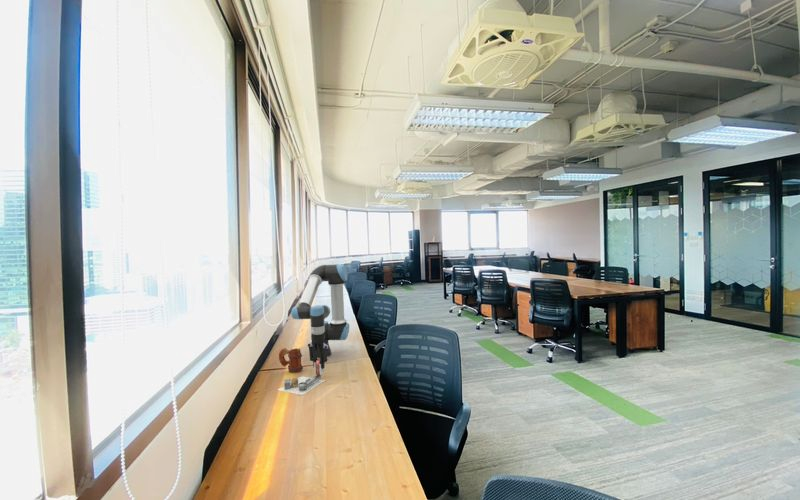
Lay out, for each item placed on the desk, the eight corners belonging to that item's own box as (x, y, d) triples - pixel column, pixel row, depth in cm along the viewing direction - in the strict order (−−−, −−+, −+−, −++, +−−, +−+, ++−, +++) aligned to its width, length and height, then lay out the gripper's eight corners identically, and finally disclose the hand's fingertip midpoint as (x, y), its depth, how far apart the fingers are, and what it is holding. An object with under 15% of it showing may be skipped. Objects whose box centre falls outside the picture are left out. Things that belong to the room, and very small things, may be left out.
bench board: (301, 378, 191) (301, 375, 191) (325, 382, 184) (325, 379, 184) (277, 392, 173) (277, 388, 173) (302, 397, 167) (302, 393, 167)
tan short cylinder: (294, 384, 180) (294, 378, 180) (299, 385, 178) (299, 379, 178) (289, 387, 176) (289, 380, 176) (295, 388, 175) (294, 381, 175)
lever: (303, 390, 170) (302, 370, 170) (296, 389, 172) (296, 369, 171) (324, 377, 186) (323, 359, 186) (317, 376, 188) (317, 358, 188)
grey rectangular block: (285, 385, 178) (284, 379, 178) (290, 385, 179) (290, 378, 179) (284, 389, 173) (284, 383, 173) (290, 388, 174) (290, 382, 174)
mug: (305, 370, 203) (304, 346, 203) (300, 375, 195) (299, 350, 195) (283, 369, 205) (282, 346, 205) (276, 374, 197) (276, 350, 197)
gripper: (302, 333, 185) (303, 374, 185) (325, 336, 179) (326, 378, 179) (310, 330, 192) (312, 369, 192) (333, 332, 185) (334, 373, 186)
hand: (319, 373), depth 186 cm, fingers closed on lever, 3 cm apart
